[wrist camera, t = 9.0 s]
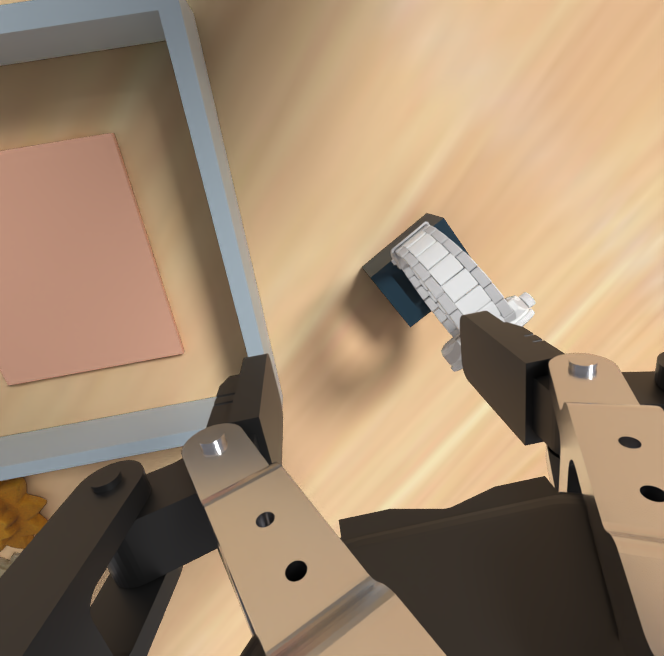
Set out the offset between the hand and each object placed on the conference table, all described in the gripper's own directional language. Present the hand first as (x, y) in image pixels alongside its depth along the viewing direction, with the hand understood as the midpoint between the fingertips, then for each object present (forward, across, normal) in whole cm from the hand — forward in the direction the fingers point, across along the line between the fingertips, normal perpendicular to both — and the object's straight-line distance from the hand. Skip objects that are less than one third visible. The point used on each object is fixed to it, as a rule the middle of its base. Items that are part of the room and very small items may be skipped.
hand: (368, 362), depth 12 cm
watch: (+16, -6, +1) cm, 17 cm away
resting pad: (+16, +17, -3) cm, 23 cm away
